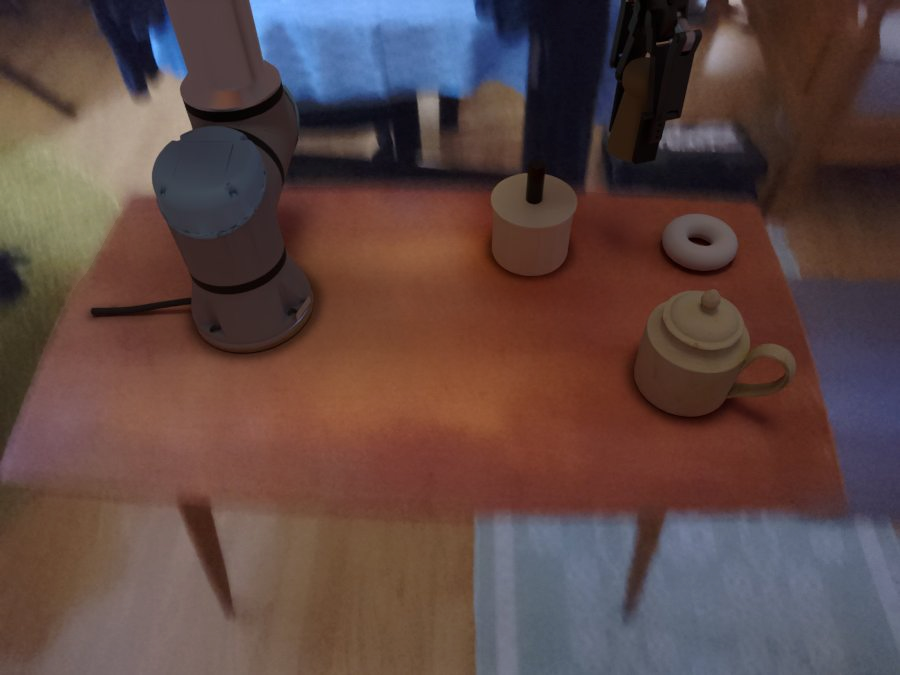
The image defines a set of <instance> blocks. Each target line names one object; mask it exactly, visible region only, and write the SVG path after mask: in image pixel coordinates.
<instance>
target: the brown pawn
mask: <svg viewBox="0 0 900 675" xmlns="http://www.w3.org/2000/svg"><path fill="white" fill-rule="evenodd" d="M649 66H650V56H646V57H641V58H637V59H634V60H632V61H631V62H630V63H629V64H628V65H627V66H626V67H625V69H624V71H623V77H622V85H623V87H624V89H625V91H624V94H623V97H622V100H621V103H620V106H619V109H618V112H617V115H616V118H615V121H614V124H613V127H612V130H611V133H610V132H609V136H608V139H607V142H606V149H607V152H608V153H610V155H611V156H612V157H614V158H616V159H618V160H621V161H624V162H630V163H633V162H632V158H633V153H634V148H635V144H636V139H637V134H638V130H639V125H640V120H641V113H643V112H647V105H648V86H649Z"/></svg>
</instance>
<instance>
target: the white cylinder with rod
mask: <svg viewBox="0 0 900 675" xmlns="http://www.w3.org/2000/svg"><path fill="white" fill-rule="evenodd" d="M546 169H547V163H546V160H544V159H542V158H539V157H537V158H531V159H530V160H529V161H528V163H527V172H523V173H517V174H514V175H512V176H508V177H505V178H504V179H503V180H501V181H500V182H498V183H497V184H496V185H495V187H494V188H493V189H492V191H491V196H490V207H491V209H492V212H493V211H494V213H495V214H496V215H497V216H498V217H499V218H500V219H501V220H502V221H504V222H505V223H507V224H509V225H511V226H514V227H517V228H520V229H525V230H547V229H552V228H555V227H558V226H560V225H562V224H564V223H566V222H567V221H568V220H569V219H571V218H572V216H573V217H574V216H575V213H576V211H577V208H578V197H577V194H576V192H575V190H574V189H573V187H571V186H570V185H569V184H568V183H567V182H565V181H564V180H562V179H560V178H558V177H555V176H553V175H551V174H546V171H547V170H546Z"/></svg>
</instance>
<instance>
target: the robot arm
mask: <svg viewBox="0 0 900 675" xmlns="http://www.w3.org/2000/svg"><path fill="white" fill-rule="evenodd" d="M163 2H164V5H165V9H166V11H167V14H168V17H169V20H170V23H171V26H172V30H173V32H174V35H175V39H176V41H177V44H178V47H179V50H180V54H181V56H182V59H183V62H184V65H185V68H186V71H187V73H186V75H185V77H184V78H183V80H182V81H181V83H180V86H179V93H180V98H181V99H182V102H183V106H184V108H185V112H186V114H187V117H188V120H189V123H190V126H191V130H188V131H185V132H183V133H182V134H180V135H179V139H178V140H175V139H174V140H170V141H169V142H168V143H167V144H166V145H165V146H164V147H163V148H162V149H161V151H159V153H158V155H157V157H156V158H155V160H154V163H153V166H152V170H151V184H152V188H153V191H154V194H155V200H156V204H157V207H158V210H159V212H160V214H161V216H162V218H163V219H164V220H165V222H166V224H167V227H168V229H169V231H170V234H171V236H172V238H173V240H174V242H175V245H176V246H177V249H178V251H179V253H180V255H181V258H182V260H183V262H184V264H185V267H186V269H187V271H188V273H189V275H190V278H191V290H190V291H191V294H190V295H191V296H190V297H184V298H177V299H176V298H175V299H170V300H169V299H168V300H162V301H156V302H149V303H144V304H137V305H131V306H119V307H117V306H116V307H92V308H91V309H90V314H91V315H92V316H96V315H97V316H99V315H101V316H102V315H104V316H105V315H125V314H126V315H127V314H134V313H135V314H136V313H142V312H148V311H153V310H161V309H167V308H175V307H181V306H188V305H190V310H191V317H192V320H193V323H194V325H195V327H196V329H197V331H198V333H199V334H200V336H201V337H202V339H203V340H205V341H206V343H208V344H210V345H211V346H213V347H215V348H216V349H220V350H222V351H226V352H230V353H231V352H232V353H240V354H242V353H244V354H245V353H255V352H261V351H264V350H268V349H271V348H275V347H276V346H279V345H280V344H283V343H285V342H286V341H288V340H289V339H291V338H292V337H294V336H295V335H296V334H297V333H298V332H299V331H301V330H302V328H303V327H304V326H305V325H306V323H308V320H309V319H310V317H311V315H312V312H313V309H314V302H315V301H314V300H315V299H314V293H313V288H312V285H311V282H310V279H309V278H308V276H307V275H306V273H305V272H304V271H303V269H302V268H301V267H300V265H299V264H298V263H297V262H296V260H295V259H294V258H293V257H292V255H291V254H290V253H289V251H288V250H287V249H286V245H285V241H284V238H283V233H282V229H281V227H280V223H279V219H278V206H279V202H280V199H281V196H282V192H283V188H284V184H285V181H286V177H287V175H288V171H289V169H290V168H289V167H290V164H291V161H292V157H293V154H294V152H295V150H296V149H297V145H298V143H299V136H300V112H299V108H298V107H299V106H298V104H297V102H296V100H295V98H294V96H293V93H291V91H290V90H289V88H288V87H287V86H286V85H285V84H283V81H282V77H281V76H282V75H281V73H280V71H279V69H278V68H277V67H276V66H275V65H274V64H272V63H271V62H268V61H267V60H265V59H264V56H263V52H262V48H261V43H260V40H259V35H258V31H257V30H258V29H257V26H256V22H255V19H254V14H253V11H252V5H251V2H250V0H163ZM689 10H690V0H620V6H619V11H618V15H617V21H616V25H615V30H614V36H613V40H612V45H611V46H612V47H611V51H610V55H609V61H608V62H609V63H608V65H609V67H610V69H615V72H614V78H615V80H616V85H615V91H614V97H613V104H612V109H611V115H610V119H609V120H610V121H609V127H608V132H609V134H610V133H611V130H612V127H613V124H614V121H615V118H616V115H617V112H618V109H619V106H620V103H621V100H622V97H623V94H624V91H625V89H624V87H623V85H622V77H623V71H624V69H625V67H626V66H627V65H628V64H629V63H630V62H631V61H632V60H634V59H637V58H641V57H647V54H648V55H649V57H650V66H649V86H648V105H647V112H643V113H641V120H640V125H639V130H638V134H637V139H636V144H635V148H634V153H633V158H632V162H631V163H632V164H634V165H638V164H639V165H640V164H643V163H644V164H645V163H648V162H655V161H656V158H657V154H658V150H659V146H660V142H661V141H662V140H663V135H664V131H665V126H666V123H667V122H668V121H673V120H677V119H681V117H682V114H683V109H684V104H685V100H686V95H687V90H688V87H689V83H690V78H691V72H692V68H693V64H694V59H695V54H696V52H697V51H698V47H699V46H700V44H701V42H702V39H703V32H702V30H701V29H699V28H697V29H692V27H691V26H690V24H689V22H688V20H689V17H690V11H689Z"/></svg>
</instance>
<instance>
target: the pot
mask: <svg viewBox="0 0 900 675" xmlns="http://www.w3.org/2000/svg"><path fill="white" fill-rule="evenodd" d="M573 217H574V215H573V216H572V218H571V219H569V220H568V221H567V222H566V223H564V224H562V225H560V226H558V227H555V228H552V229H547V230H525V229H520V228H517V227H514V226H511V225H509V224H507V223H505V222H504V221H502V220H501V219H500V218H499V217H498V216H497V215H496V214H495V213H494V211H493V210H492V230H491V232H492V233H491V252H492V256H493V258H494V260H495V261H496V263H497V264H498V265H499V266H500V267H501V268H503V269H504V270H506V271H508V272H510V273H513V274H515V275H518V276H519V275H520V276H525V277H536V276H537V277H539V276H543V275H547V274H550V273H552V272H554V271H556V270H558V269H559V268H560V267H561V266H562V265H563V263H565V260H566V258H567V256H568V251H569V243H570V238H571V231H572V224H573V219H574V218H573Z"/></svg>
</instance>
